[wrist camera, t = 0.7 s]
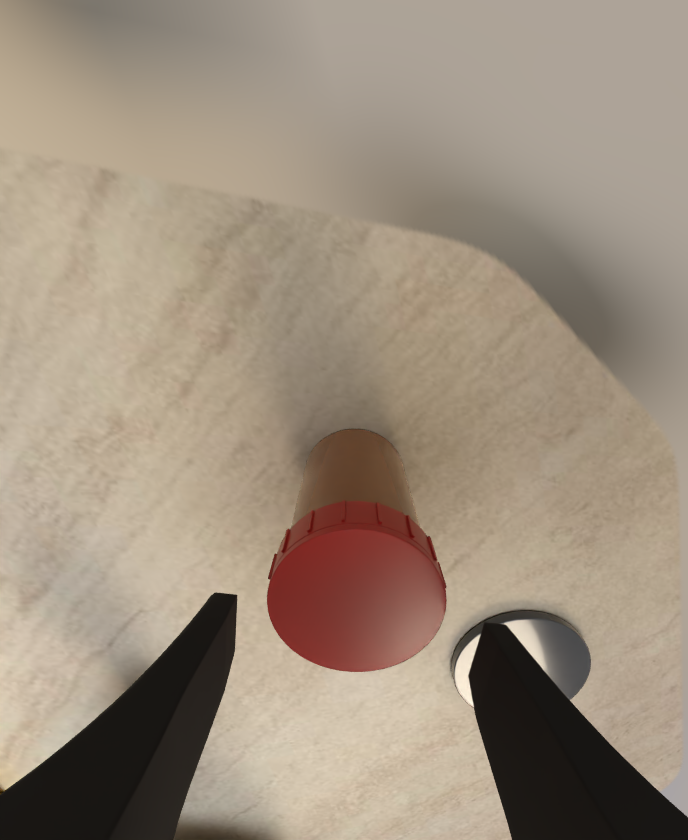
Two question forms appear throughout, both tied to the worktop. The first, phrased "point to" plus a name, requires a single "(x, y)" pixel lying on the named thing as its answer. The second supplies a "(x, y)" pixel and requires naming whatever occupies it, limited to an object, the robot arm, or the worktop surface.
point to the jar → (354, 474)
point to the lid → (356, 587)
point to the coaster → (532, 650)
